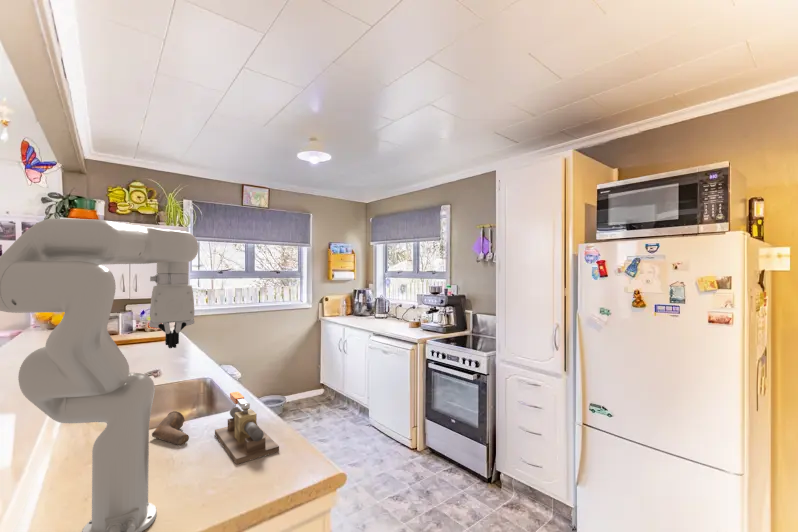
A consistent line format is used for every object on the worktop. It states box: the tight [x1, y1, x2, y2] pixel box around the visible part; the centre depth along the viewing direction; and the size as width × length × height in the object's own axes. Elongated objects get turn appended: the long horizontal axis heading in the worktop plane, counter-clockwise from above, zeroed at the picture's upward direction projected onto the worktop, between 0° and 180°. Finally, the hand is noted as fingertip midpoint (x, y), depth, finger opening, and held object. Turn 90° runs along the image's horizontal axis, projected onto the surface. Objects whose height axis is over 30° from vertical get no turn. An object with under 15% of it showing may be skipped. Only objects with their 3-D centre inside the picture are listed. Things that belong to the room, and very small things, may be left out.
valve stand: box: [214, 406, 280, 465], centre depth 117 cm, size 24×12×10 cm, turn 39°
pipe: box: [151, 410, 190, 446], centre depth 121 cm, size 6×17×10 cm
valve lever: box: [229, 391, 251, 411], centre depth 122 cm, size 3×15×2 cm, turn 37°
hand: (172, 347), depth 104 cm, fingers closed
